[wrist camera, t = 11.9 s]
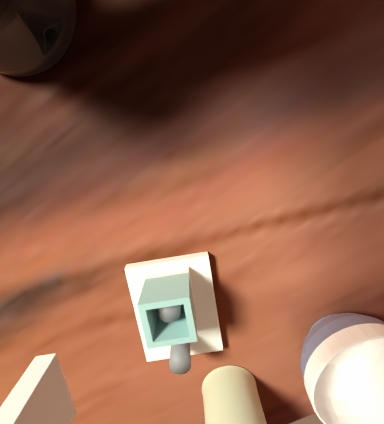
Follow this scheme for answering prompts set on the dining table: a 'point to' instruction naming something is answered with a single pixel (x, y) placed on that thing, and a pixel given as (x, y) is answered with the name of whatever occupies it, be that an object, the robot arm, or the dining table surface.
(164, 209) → the dining table surface
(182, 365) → the pinboard
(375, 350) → the bowl
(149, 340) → the sleeve
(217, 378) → the can
